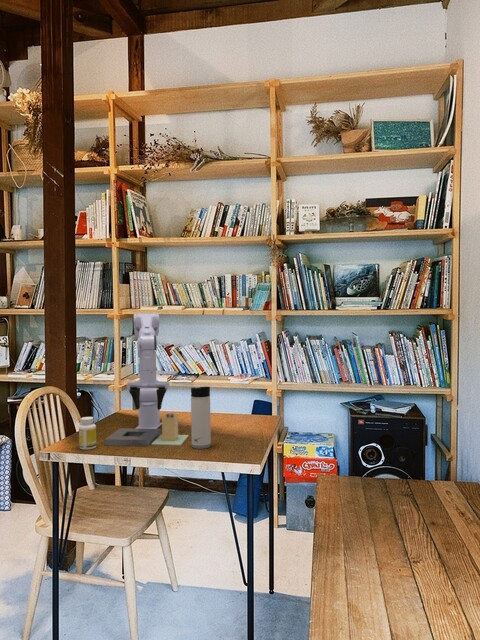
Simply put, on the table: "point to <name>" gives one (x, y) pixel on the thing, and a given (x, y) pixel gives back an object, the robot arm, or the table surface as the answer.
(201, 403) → the travel mug
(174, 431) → the end cover
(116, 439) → the square plate with hole
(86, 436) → the supplement bottle
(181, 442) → the mat
